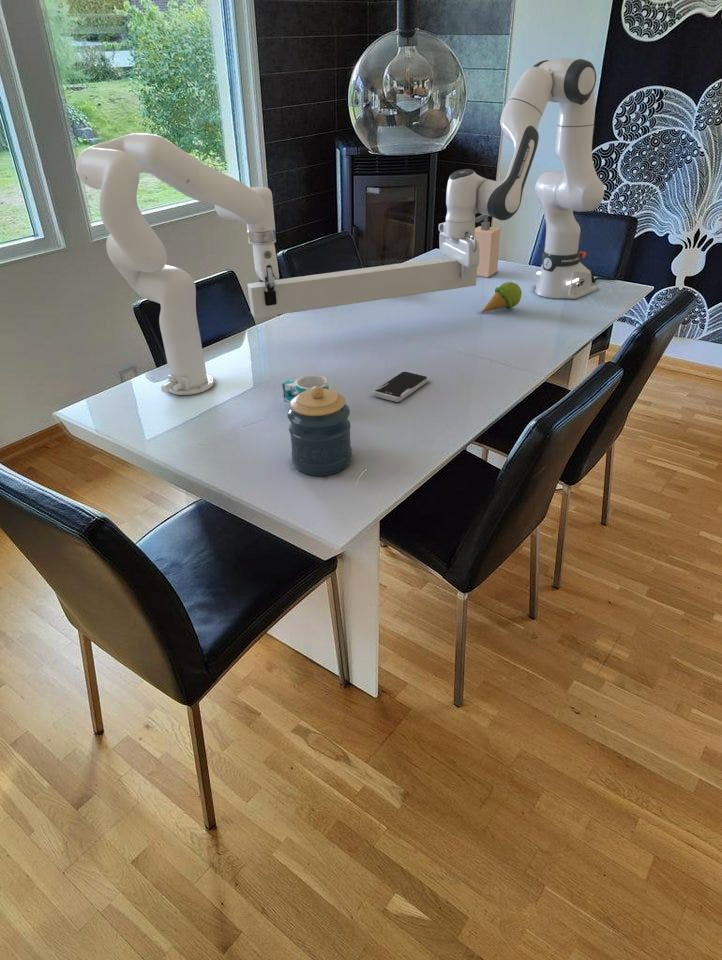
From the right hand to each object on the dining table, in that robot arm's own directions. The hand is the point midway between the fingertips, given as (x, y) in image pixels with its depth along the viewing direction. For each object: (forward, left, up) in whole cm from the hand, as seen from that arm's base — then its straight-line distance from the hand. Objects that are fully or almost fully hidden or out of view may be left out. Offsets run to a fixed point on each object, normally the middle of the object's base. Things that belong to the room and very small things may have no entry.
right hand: (458, 275), depth 210 cm
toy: (-17, +2, -11) cm, 20 cm away
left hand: (+60, -12, 0) cm, 61 cm away
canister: (+80, +52, -14) cm, 96 cm away
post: (+30, -6, -3) cm, 31 cm away
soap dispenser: (-39, -33, -14) cm, 53 cm away
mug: (+71, +29, -14) cm, 78 cm away
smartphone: (+45, +33, -14) cm, 57 cm away
